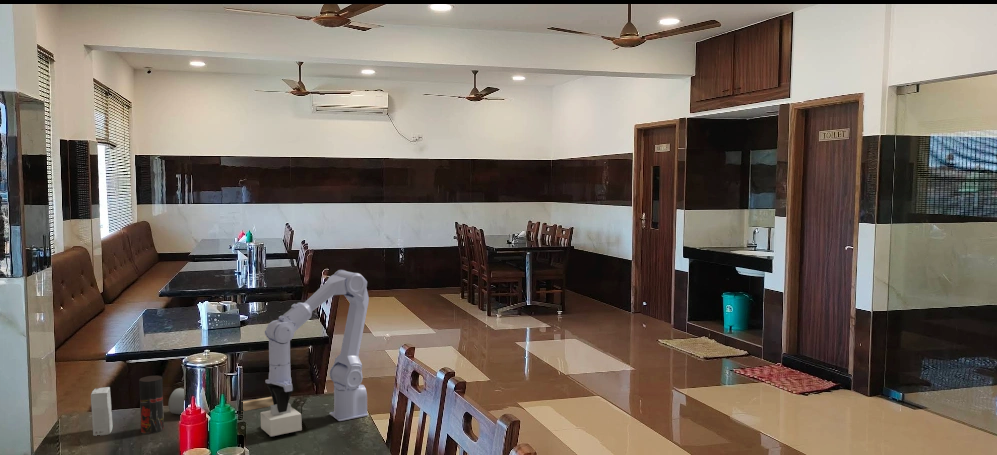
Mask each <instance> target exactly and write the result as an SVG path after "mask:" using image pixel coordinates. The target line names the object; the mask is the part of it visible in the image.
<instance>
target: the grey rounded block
mask: <svg viewBox="0 0 997 455" xmlns="http://www.w3.org/2000/svg"><path fill="white" fill-rule="evenodd" d="M184 389H185V388H182V387H179V388H175V389H173V391H172V392H171V394H170V396H169V399H168V403H167V404H168V410H169V412H170V413H171V414H172V415H173V414H175V415H180V414H181V413H182V412H183V410H184V408H183V405H184Z"/></svg>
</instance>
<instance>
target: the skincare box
mask: <svg viewBox="0 0 997 455" xmlns="http://www.w3.org/2000/svg"><path fill="white" fill-rule="evenodd" d="M90 404H91V406H90V407H91V422H92V436H95V437H98V436H97V435H100V436H106V435H110V434H111V432H112V431H113V425H114V424H113V412H112V397H111V387H110V386H107V387H106V386H105V387H97V388H94V389H93V390H92V391H91V394H90Z"/></svg>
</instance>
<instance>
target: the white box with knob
mask: <svg viewBox="0 0 997 455" xmlns="http://www.w3.org/2000/svg"><path fill="white" fill-rule="evenodd" d="M291 405H292V404H291V403H290V402H288V407H287V411H286V412H280V413H279V411H278V408H277V404H275V405H270V406H269V407H270V409H269V410H266V411H260V413H259V414H260V429H261V430H263V431H264V432H265V433H266V434H267V435H269V437H275V436H280V435H284V434H289V433H294V432H299V431H302V430H303V427H302V426H303V425H302V424H303V423H302V421H303V420H302V413H300V412H299V411H298V410H297V409H295V408H294V407H292V406H291Z"/></svg>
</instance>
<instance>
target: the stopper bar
mask: <svg viewBox="0 0 997 455" xmlns="http://www.w3.org/2000/svg"><path fill="white" fill-rule="evenodd" d="M242 402H243V410H244V411H243V412H246V411H251V410H255V409H256V410H257V409H262V408H269V407H270V405H274V403H273V399H272V396H269V397H262V398H256V399H251V400H245V401H242Z"/></svg>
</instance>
